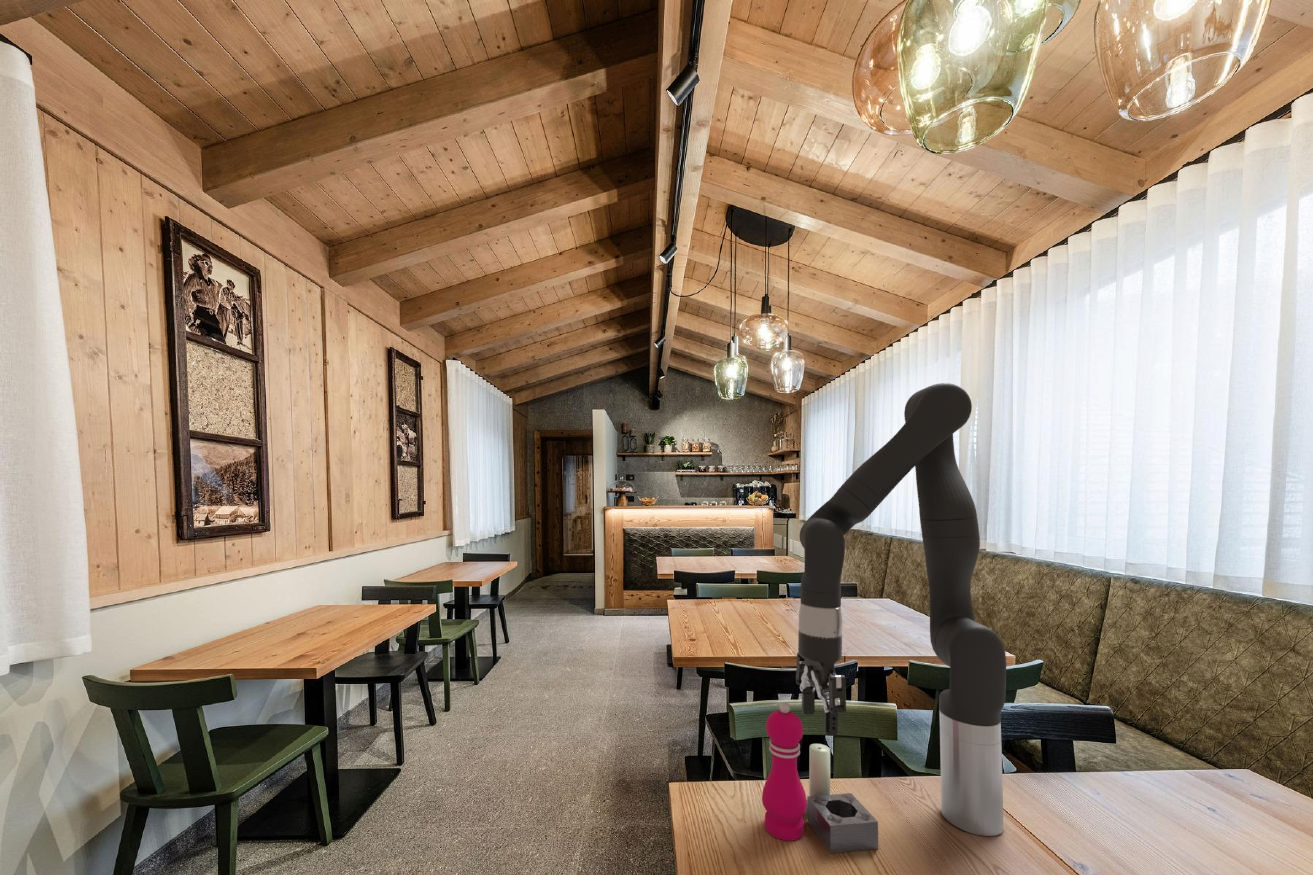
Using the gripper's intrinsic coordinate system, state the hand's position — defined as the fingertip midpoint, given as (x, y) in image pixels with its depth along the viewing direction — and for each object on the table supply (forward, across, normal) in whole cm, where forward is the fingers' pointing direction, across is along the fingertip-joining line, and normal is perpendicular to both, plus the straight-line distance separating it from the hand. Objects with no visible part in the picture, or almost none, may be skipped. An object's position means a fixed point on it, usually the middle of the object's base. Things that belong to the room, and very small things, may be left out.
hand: (818, 723), depth 96 cm
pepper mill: (+14, -5, +8) cm, 17 cm away
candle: (+14, 0, 0) cm, 14 cm away
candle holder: (+14, -7, 0) cm, 16 cm away
